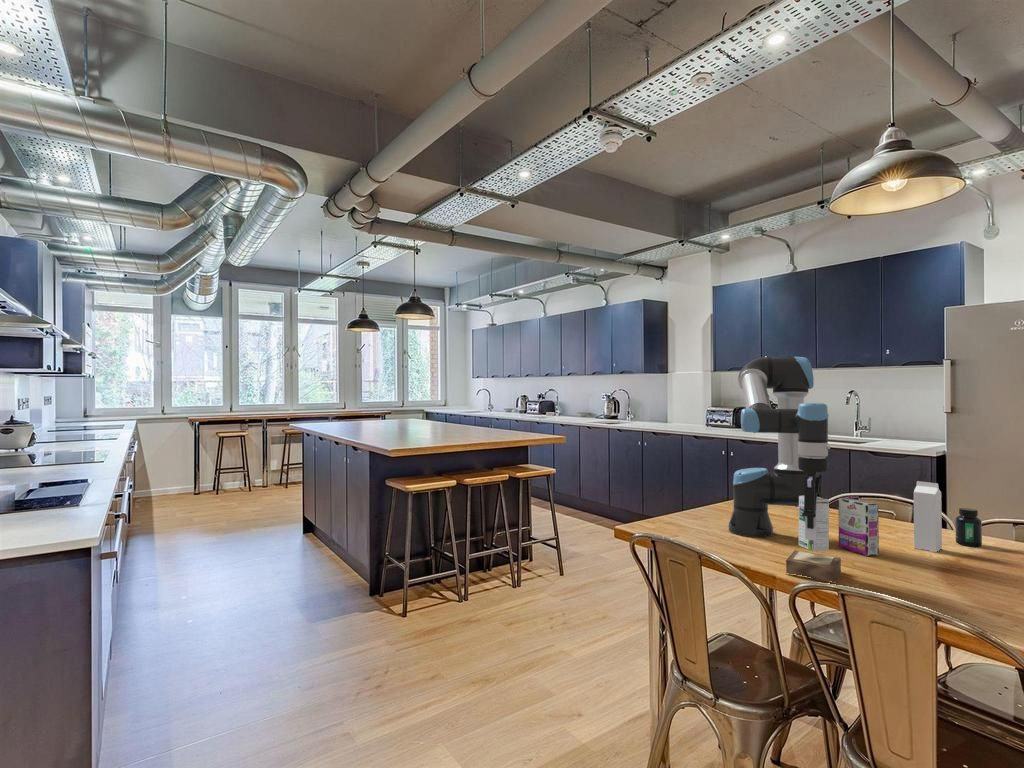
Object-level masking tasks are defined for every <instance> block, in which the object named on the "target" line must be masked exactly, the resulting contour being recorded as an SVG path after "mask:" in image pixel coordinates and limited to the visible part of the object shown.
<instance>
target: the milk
mask: <svg viewBox="0 0 1024 768" xmlns="http://www.w3.org/2000/svg"><path fill="white" fill-rule="evenodd" d="M942 518H943V517H942V491H941V490H940V488H939V483H937V482H929V481H928V482H927V481H920V480H917V481H916V486H915V487H914V490H913V547H914V549H915V548H918V549H917V550H920V549H924V550H923V551H925V550H929V551H928V552H930V551H934V552H933V553H935V552H936V553H938V552H939V550H940V549H943V542H942V541H943V529H942V528H943V525H942V524H943V523H942ZM937 551H938V552H937ZM940 551H941V550H940Z"/></svg>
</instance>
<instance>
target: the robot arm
mask: <svg viewBox="0 0 1024 768" xmlns="http://www.w3.org/2000/svg"><path fill="white" fill-rule="evenodd" d="M737 379H738V385H739V388H740V389H741V390H742V393H743V399H744V405H745V408H743V409H741V413H740V424H741V425H740V427H741V430H742V431H743V432H745V433H753V434H757V433H759V434H760V433H762V434H763V433H764V434H765V433H766V434H767V433H768V434H777V442H778V443H777V451H778V453H777V454H778V462H777V464H776V465H775V466H774V467H773V472H769V471H768V468H765V467H750V468H749V467H748V468H741V469H738V470H736V471H735V472H734V473H733V480H732V481H733V482H732V485H733V510H732V513H731V516H730V519H729V522H728V531H729V532H731V533H732V534H735V535H739V536H745V537H751V538H753V537H754V538H768V537H772V536H773V535H774V526H773V523H772V521H771V518H770V515H769V511H768V510H769V506H782V507H783V506H784V507H785V506H786V507H795V508H797V507H798V508H799V496H804V513H802V516H805V539H807V540H814V541H817V517H815V516H816V499H817V497H821V498H823V496H822V495H823V493H822V491H823V490H822V483H823V476H822V474H820V473H825V472H828V471H829V459H828V458H827V457H828V456H829V450H830V449H831V446H830V445H828V444H829V443H828V442H829V427H828V426H829V412H828V405H827V404H826V403H825V402H824V403H818V402H813V403H812V402H805V398H806V396H808V394H809V390H810V389H813V388H814V385H815V384H814V371H813V367H812V363H811V362H810V359H809V358H807V357H805V356H804V357H803V356H773V357H770V356H768V357H767V356H766V357H765V356H764V357H758V358H755V359H753V360H751V361H749V362H747V364H745V365H744V366H743V367H742V368H741V370H740V371H739V374H738V378H737ZM768 389H770V390H771V389H772V395H774V396H775V397H776V398H777V408H772V405H771V401H770V395H769V394H768ZM811 511H812V512H811Z"/></svg>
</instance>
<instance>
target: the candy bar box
mask: <svg viewBox="0 0 1024 768" xmlns="http://www.w3.org/2000/svg"><path fill="white" fill-rule="evenodd" d="M879 525H880V524H879V503H875V502H871V501H867V500H866V501H865V500H861V499H856V498H851V497H843V498H842V497H841V498H838V548H840V549H843V550H847V551H849V552H853V553H856V554H859V555H862V556H865V557H875V556H876V557H877V556H880V552H879V551H880V550H879V546H880V545H879V544H880V543H879V542H880V541H879V539H880V538H879V535H880V533H879Z"/></svg>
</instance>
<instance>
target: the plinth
mask: <svg viewBox="0 0 1024 768" xmlns="http://www.w3.org/2000/svg"><path fill="white" fill-rule="evenodd" d="M841 559H842V558H841V557H838V556H831V555H827V554H826V555H825V554H820V553H813V552H808V551H807V552H806V551H801V550H793V552H791V554H790V555H789V556H788V558H787V559H786V560H785V562H786V564H785V571H786V572H785V573H789V574H796V575H802V576H807V577H811V578H813V579H812V580H814V579H818V580H817V581H819V580H821V581H820V582H825V581H832V582H835V581H836V580H837V581H838V579H839V577H840V574H841V572H842V571H841V570H842V567H841V565H842V564H841V563H842V560H841ZM838 576H839V577H838ZM837 578H838V579H837ZM837 581H836V582H837Z"/></svg>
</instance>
